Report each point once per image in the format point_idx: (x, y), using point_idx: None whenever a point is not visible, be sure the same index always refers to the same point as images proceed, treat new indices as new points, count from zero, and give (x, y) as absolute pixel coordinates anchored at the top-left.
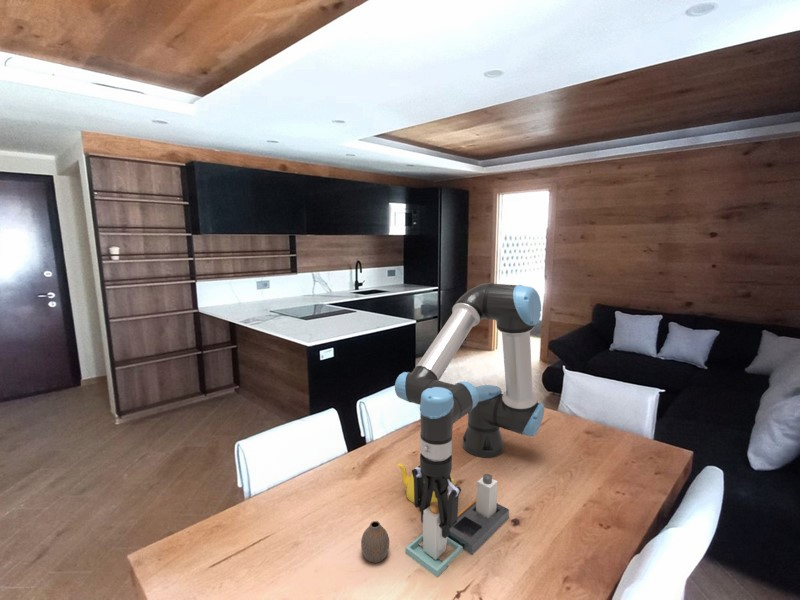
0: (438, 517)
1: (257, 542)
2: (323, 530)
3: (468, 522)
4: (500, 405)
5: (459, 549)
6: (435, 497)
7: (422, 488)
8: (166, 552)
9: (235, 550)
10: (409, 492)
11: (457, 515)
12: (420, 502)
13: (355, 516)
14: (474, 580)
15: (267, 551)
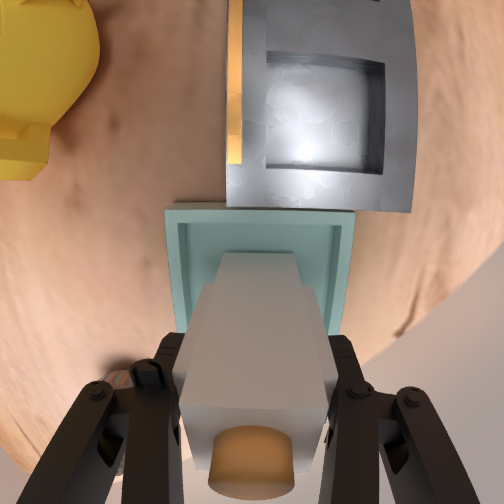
0: (311, 459)
1: (25, 434)
2: (23, 382)
3: (291, 57)
4: None
5: (351, 234)
6: (61, 76)
7: (72, 498)
8: (20, 463)
9: (33, 449)
10: None
11: (447, 433)
12: (117, 430)
13: (2, 314)
14: (425, 272)
15: (45, 442)
